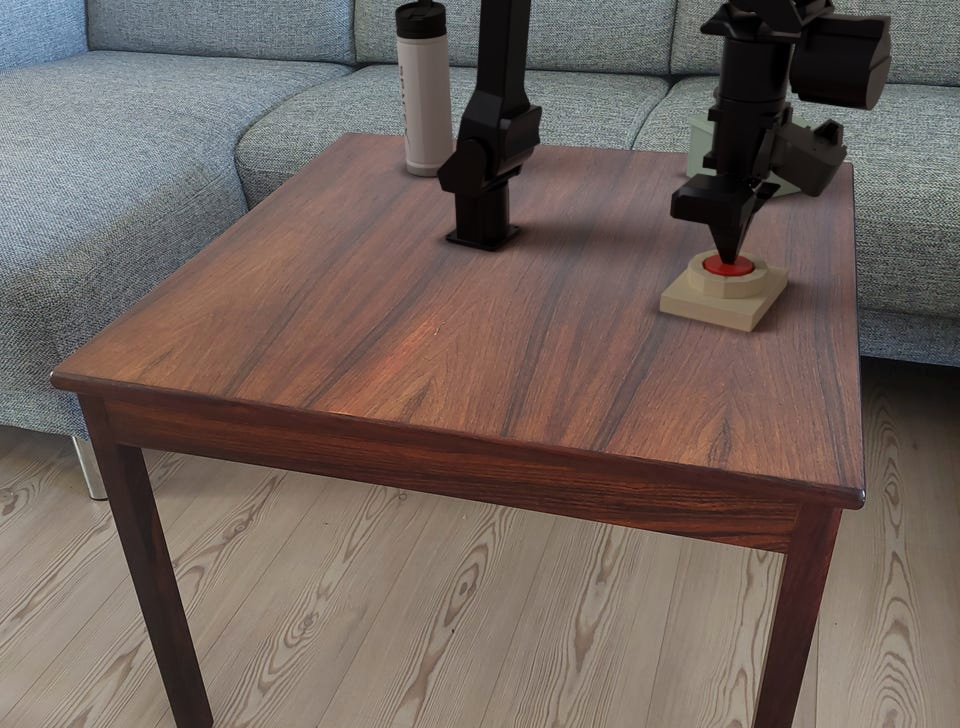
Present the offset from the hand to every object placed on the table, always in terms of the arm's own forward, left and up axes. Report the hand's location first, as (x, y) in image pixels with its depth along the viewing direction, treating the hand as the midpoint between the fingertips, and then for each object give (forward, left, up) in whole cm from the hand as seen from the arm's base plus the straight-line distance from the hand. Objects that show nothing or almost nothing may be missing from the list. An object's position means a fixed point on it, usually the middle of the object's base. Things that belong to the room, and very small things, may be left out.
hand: (728, 262), depth 89 cm
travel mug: (+18, +47, -4) cm, 50 cm away
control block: (0, 0, -4) cm, 4 cm away
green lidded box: (+31, +8, -4) cm, 33 cm away
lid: (+31, +8, +3) cm, 33 cm away
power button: (0, 0, -2) cm, 2 cm away
